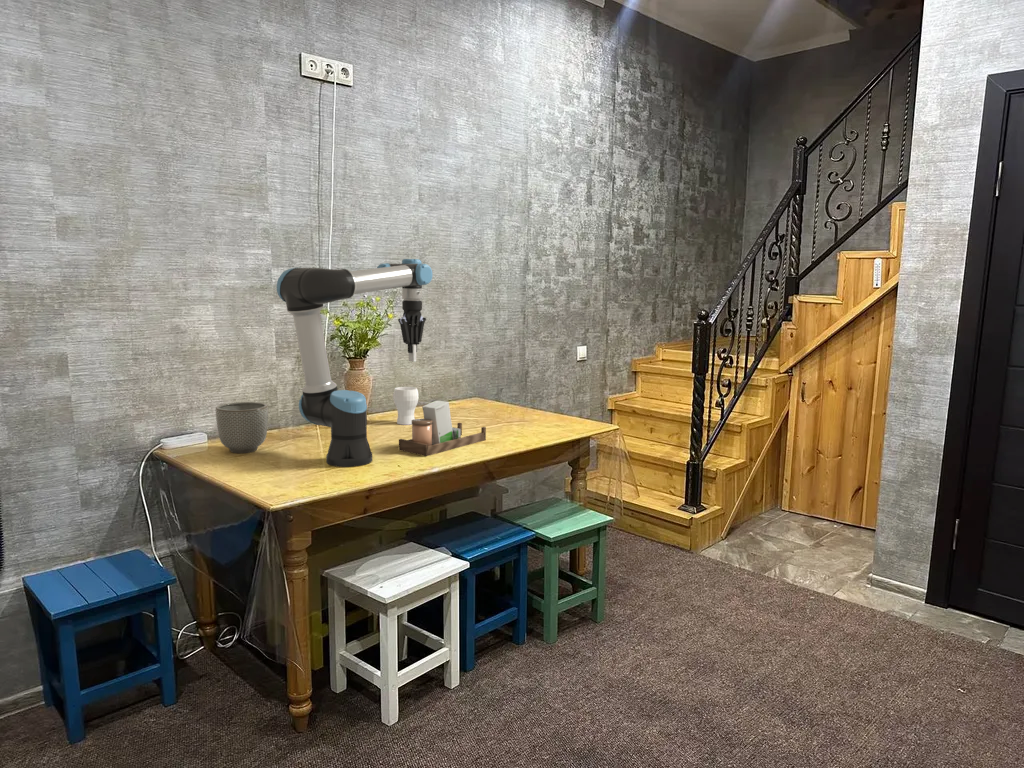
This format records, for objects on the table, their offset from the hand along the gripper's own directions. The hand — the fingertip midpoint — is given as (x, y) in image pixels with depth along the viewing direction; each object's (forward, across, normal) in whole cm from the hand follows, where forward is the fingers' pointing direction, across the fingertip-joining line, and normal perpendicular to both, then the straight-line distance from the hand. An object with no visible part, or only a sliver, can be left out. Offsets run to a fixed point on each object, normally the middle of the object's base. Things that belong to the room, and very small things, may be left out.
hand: (412, 361), depth 274 cm
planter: (+30, -56, +28) cm, 69 cm away
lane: (+29, -4, -20) cm, 36 cm away
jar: (+29, -16, -20) cm, 39 cm away
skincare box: (+29, -5, -20) cm, 35 cm away
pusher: (+29, +1, -20) cm, 35 cm away
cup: (+30, +15, +19) cm, 38 cm away
